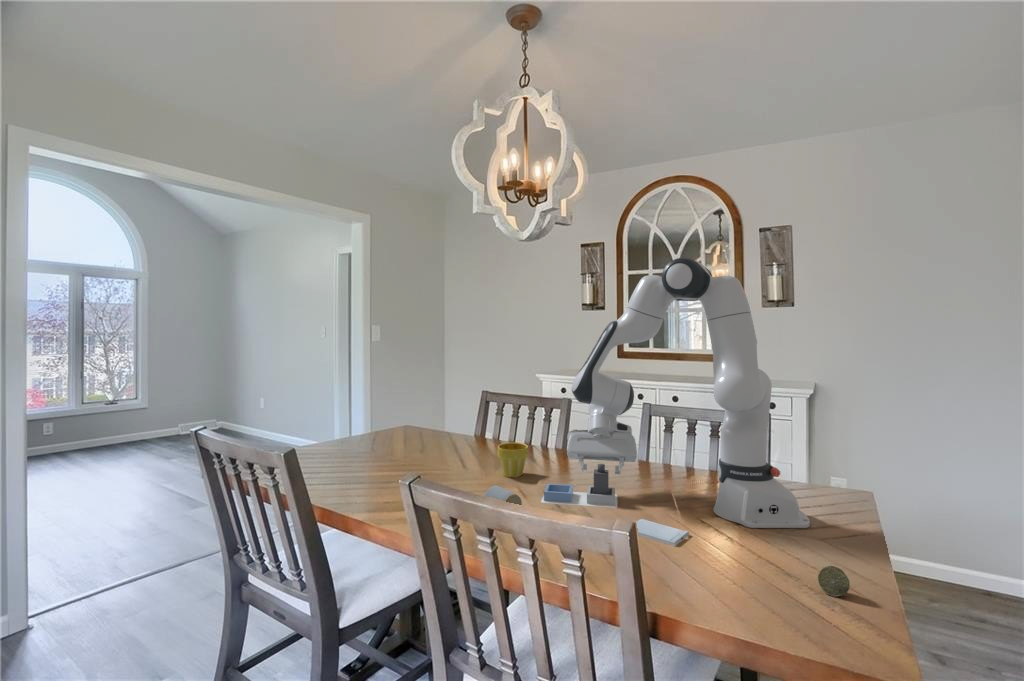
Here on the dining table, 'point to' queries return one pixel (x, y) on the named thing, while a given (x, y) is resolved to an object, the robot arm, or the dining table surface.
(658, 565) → the dining table surface
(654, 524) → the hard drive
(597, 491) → the plug
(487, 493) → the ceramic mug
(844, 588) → the lime
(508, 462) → the plant pot
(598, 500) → the plate
